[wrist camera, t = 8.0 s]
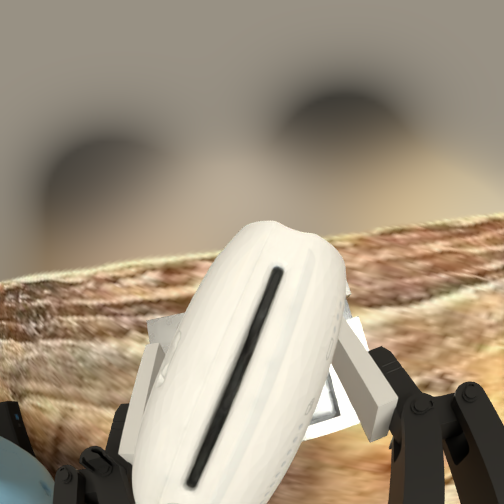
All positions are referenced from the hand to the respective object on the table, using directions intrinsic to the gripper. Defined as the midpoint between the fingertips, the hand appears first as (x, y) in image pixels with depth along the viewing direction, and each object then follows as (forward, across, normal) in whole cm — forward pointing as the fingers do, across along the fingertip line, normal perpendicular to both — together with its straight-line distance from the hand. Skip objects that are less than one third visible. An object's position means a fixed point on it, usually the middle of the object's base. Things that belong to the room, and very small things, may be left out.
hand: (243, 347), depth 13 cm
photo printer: (+1, 0, -4) cm, 4 cm away
